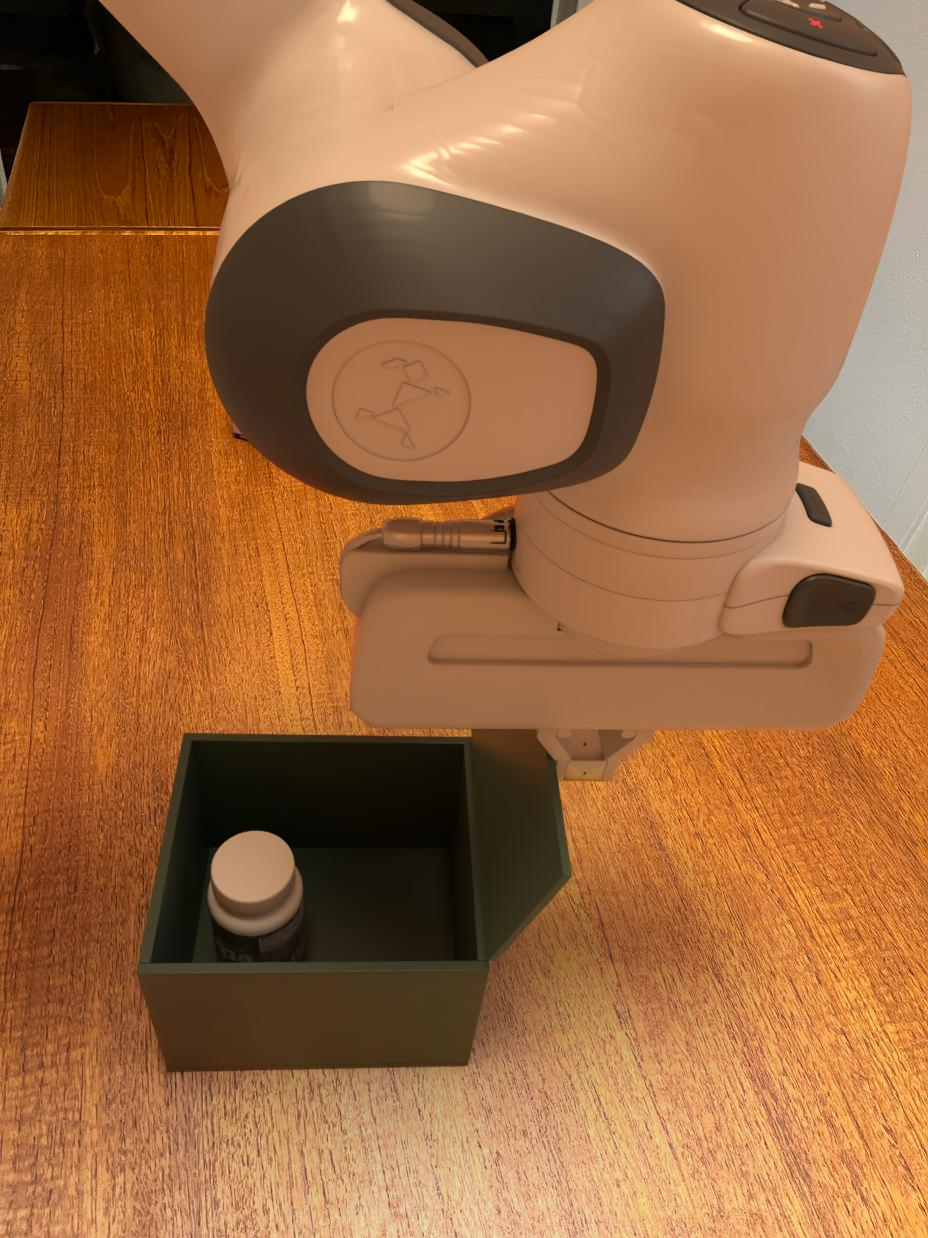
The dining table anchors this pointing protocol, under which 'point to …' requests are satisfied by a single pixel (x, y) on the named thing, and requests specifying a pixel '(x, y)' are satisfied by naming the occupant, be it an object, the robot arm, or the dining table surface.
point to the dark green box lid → (517, 831)
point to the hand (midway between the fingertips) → (578, 769)
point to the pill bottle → (256, 900)
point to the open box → (324, 905)
